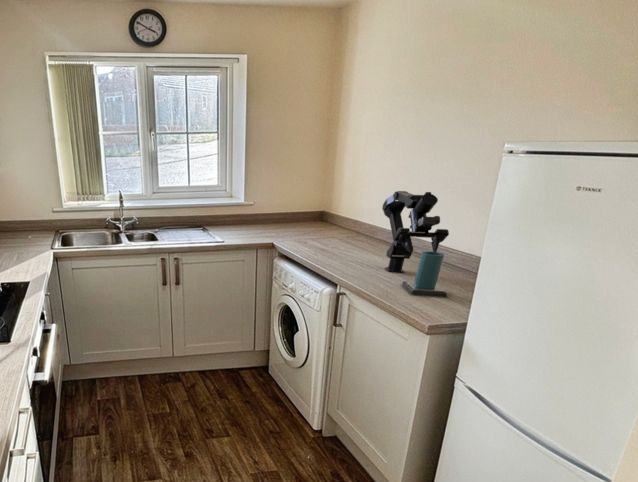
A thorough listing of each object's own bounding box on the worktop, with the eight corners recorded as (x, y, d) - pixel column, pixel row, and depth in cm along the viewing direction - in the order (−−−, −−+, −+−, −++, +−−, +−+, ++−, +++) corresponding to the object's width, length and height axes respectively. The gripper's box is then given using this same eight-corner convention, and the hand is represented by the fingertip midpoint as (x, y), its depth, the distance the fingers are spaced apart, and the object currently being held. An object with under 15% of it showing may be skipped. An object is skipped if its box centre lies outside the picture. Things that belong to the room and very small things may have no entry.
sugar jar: (409, 283, 183) (417, 251, 178) (425, 282, 184) (434, 251, 179) (423, 288, 176) (432, 256, 171) (439, 287, 177) (448, 255, 172)
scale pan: (405, 282, 186) (406, 281, 186) (435, 284, 184) (436, 283, 183) (413, 290, 177) (413, 288, 176) (445, 292, 174) (445, 291, 174)
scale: (401, 284, 189) (402, 280, 188) (434, 286, 186) (435, 283, 185) (411, 294, 177) (412, 290, 176) (446, 297, 174) (447, 293, 173)
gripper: (403, 207, 184) (406, 240, 178) (453, 208, 181) (459, 242, 175) (391, 224, 194) (395, 255, 188) (439, 225, 191) (444, 257, 185)
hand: (422, 252), depth 184 cm, fingers open, 9 cm apart
